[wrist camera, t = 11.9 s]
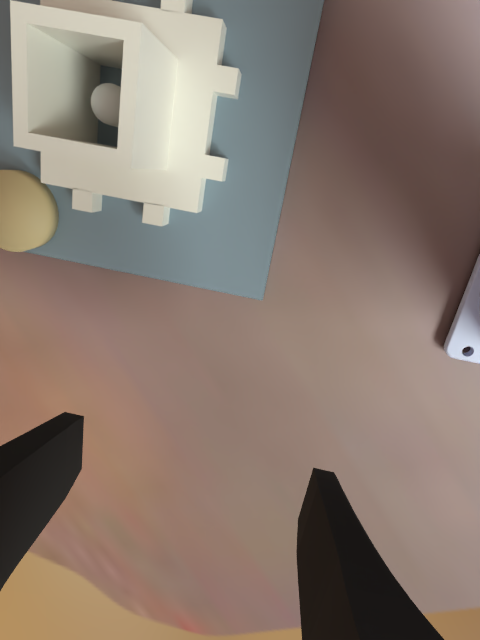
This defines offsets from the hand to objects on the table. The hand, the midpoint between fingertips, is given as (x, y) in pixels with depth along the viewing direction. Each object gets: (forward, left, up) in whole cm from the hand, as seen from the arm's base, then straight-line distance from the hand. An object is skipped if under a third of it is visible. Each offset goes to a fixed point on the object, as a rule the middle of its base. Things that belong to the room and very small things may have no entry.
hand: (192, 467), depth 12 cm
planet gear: (+6, -10, -9) cm, 14 cm away
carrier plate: (+6, -10, -9) cm, 15 cm away
